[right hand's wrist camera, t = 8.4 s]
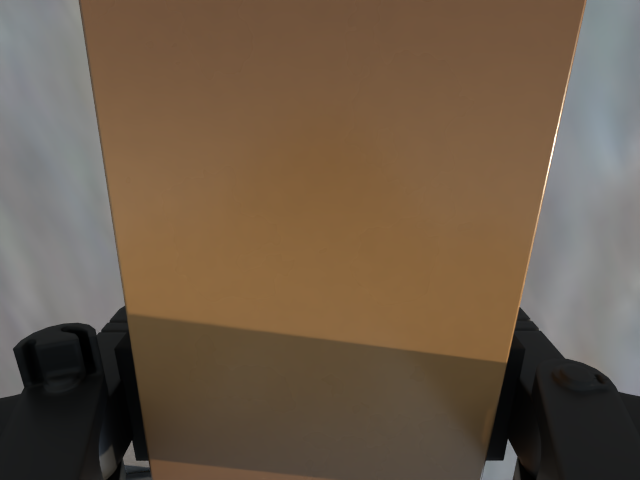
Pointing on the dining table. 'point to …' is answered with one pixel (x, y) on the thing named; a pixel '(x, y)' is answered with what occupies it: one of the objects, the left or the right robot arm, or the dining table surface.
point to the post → (325, 222)
